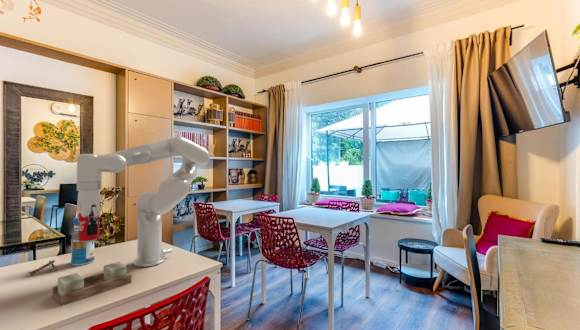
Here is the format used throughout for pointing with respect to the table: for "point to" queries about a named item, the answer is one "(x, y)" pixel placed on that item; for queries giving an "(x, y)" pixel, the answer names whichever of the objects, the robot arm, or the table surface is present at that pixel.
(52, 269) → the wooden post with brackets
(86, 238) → the beverage can
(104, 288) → the rail
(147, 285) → the table surface
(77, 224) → the beverage bottle
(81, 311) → the table surface
